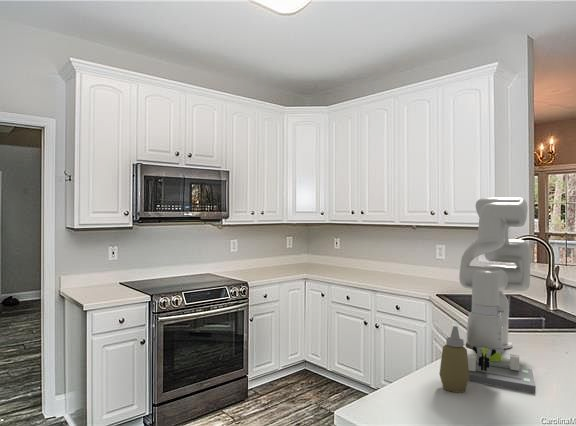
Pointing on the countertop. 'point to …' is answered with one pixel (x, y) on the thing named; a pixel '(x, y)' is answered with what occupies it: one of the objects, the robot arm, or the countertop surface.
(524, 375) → the slider switch panel
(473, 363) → the block
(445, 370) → the squeeze bottle
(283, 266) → the countertop surface
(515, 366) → the block
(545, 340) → the countertop surface
